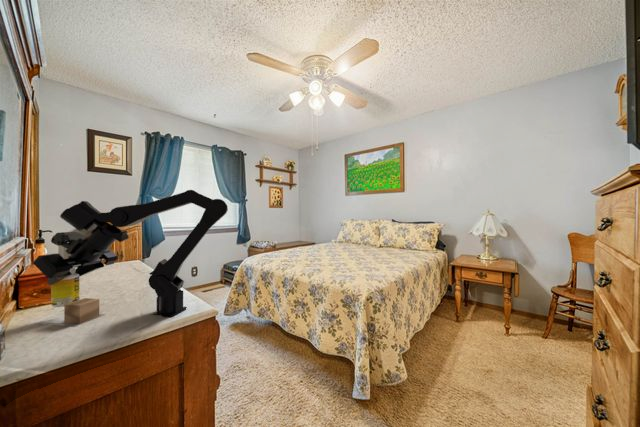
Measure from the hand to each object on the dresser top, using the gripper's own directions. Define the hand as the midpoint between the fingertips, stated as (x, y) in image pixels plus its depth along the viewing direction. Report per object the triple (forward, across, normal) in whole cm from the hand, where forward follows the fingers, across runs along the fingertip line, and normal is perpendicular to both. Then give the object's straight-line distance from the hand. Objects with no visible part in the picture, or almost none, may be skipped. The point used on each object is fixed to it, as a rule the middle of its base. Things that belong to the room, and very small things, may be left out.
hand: (61, 280), depth 69 cm
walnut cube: (+2, +1, +12) cm, 13 cm away
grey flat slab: (+5, 0, +11) cm, 12 cm away
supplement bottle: (+4, 0, +6) cm, 7 cm away
